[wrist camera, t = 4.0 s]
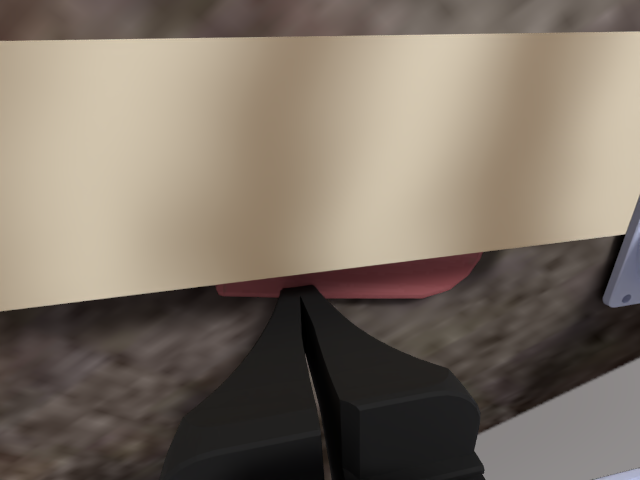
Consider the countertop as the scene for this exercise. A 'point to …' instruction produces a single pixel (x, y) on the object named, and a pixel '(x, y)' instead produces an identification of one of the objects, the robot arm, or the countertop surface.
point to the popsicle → (368, 280)
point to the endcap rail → (303, 155)
